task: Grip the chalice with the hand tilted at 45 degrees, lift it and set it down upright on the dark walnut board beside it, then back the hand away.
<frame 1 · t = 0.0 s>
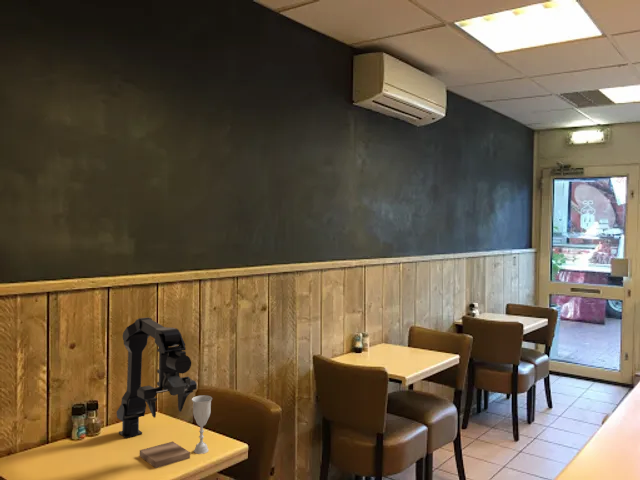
hand: (167, 414, 181), 15 cm above the table, tool pointing down, fingers open, 9 cm apart
chalice: (201, 451, 188), on the table
walnut board: (164, 457, 182), on the table
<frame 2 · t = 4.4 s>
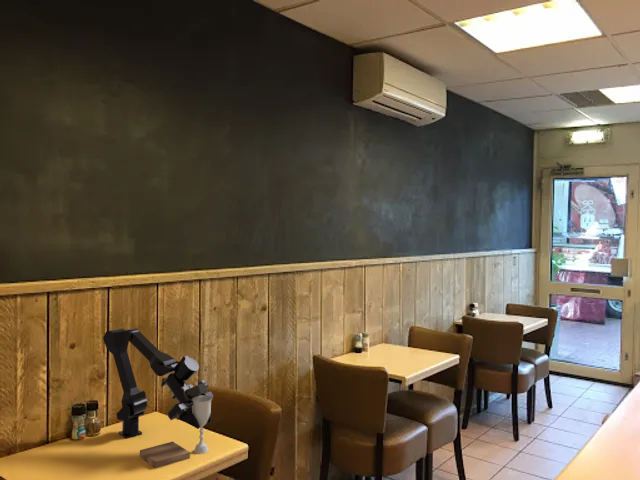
hand: (204, 425, 187), 9 cm above the table, tool tilted 45°, fingers closed on chalice, 6 cm apart
chalice: (201, 451, 188), on the table, touching gripper
when the fingers open (12 cm above the table, at t = 8.0 s): chalice moves 1 cm, resting on walnut board.
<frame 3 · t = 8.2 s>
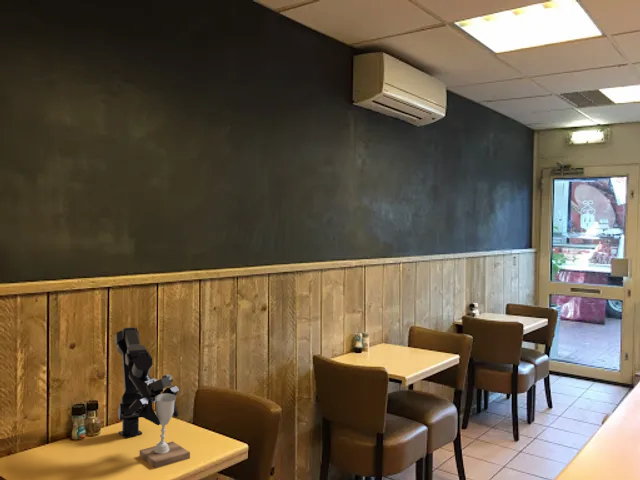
hand: (168, 420, 181), 13 cm above the table, tool tilted 45°, fingers open, 8 cm apart
chalice: (161, 450, 182), point 2 cm above the table, touching gripper, walnut board
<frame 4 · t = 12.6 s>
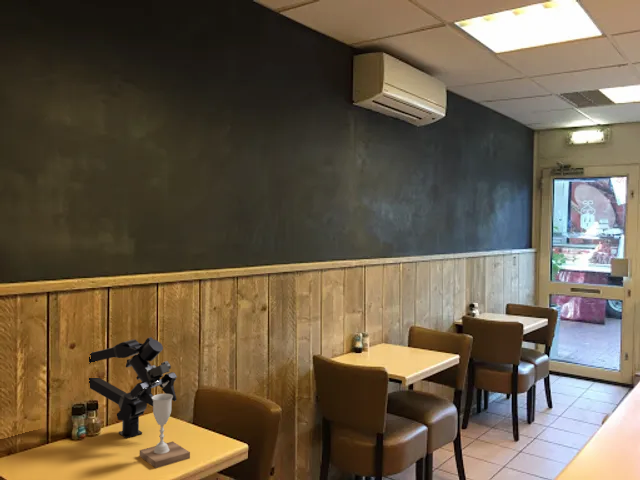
hand: (166, 404, 195), 14 cm above the table, tool tilted 45°, fingers open, 9 cm apart
chalice: (161, 451, 182), point 2 cm above the table, touching walnut board
at the end: chalice inside the target area on the walnut board (1.3 cm from its centre), point 1.8 cm above the walnut board's base; chalice tilted 0°; the gripper is holding nothing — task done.
